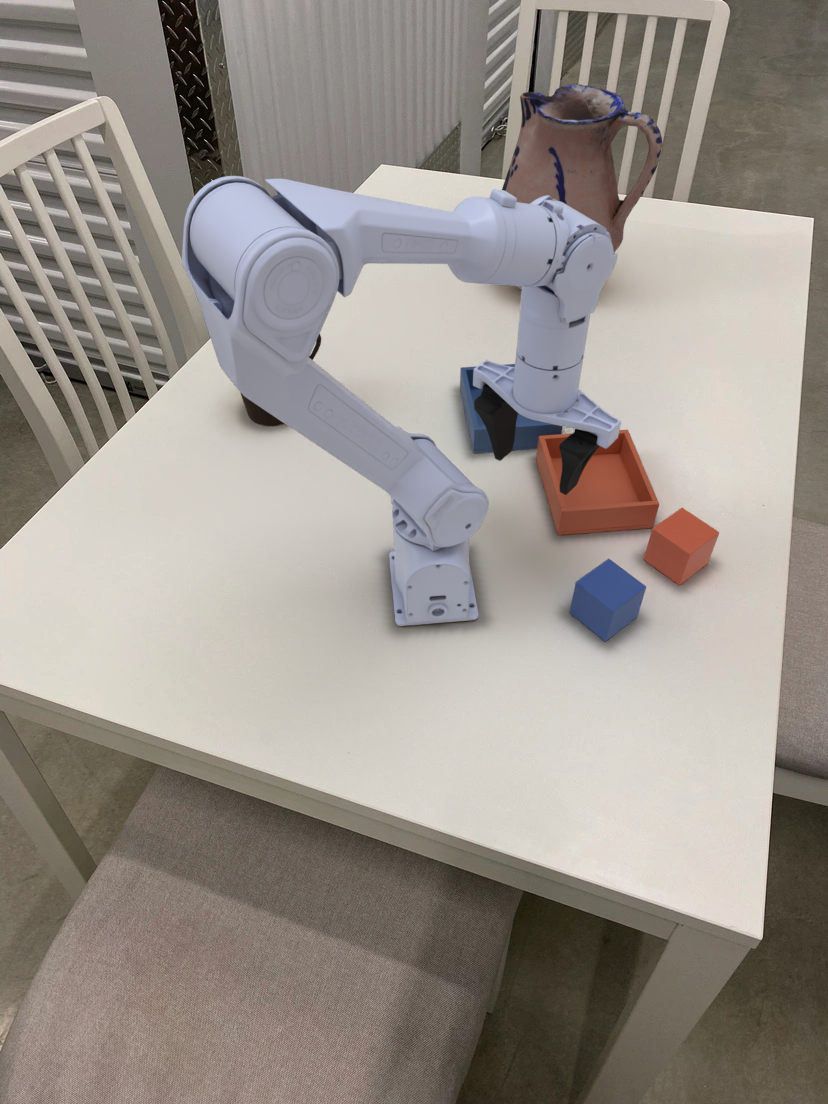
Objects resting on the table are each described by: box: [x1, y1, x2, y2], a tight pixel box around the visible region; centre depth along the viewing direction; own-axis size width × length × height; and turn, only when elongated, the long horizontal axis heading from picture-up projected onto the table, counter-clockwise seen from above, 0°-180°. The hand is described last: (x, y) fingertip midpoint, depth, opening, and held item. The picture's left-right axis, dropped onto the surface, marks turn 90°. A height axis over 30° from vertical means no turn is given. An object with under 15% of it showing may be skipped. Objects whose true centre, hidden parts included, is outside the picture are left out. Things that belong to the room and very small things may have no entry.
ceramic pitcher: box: [501, 83, 664, 291], centre depth 111 cm, size 18×21×25 cm
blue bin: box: [459, 363, 564, 454], centre depth 98 cm, size 12×10×4 cm
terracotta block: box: [643, 507, 720, 586], centre depth 81 cm, size 5×5×5 cm
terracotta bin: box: [535, 429, 660, 536], centre depth 89 cm, size 12×10×4 cm
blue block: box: [569, 558, 647, 642], centre depth 77 cm, size 5×5×5 cm
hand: (535, 471), depth 79 cm, fingers open, 7 cm apart
